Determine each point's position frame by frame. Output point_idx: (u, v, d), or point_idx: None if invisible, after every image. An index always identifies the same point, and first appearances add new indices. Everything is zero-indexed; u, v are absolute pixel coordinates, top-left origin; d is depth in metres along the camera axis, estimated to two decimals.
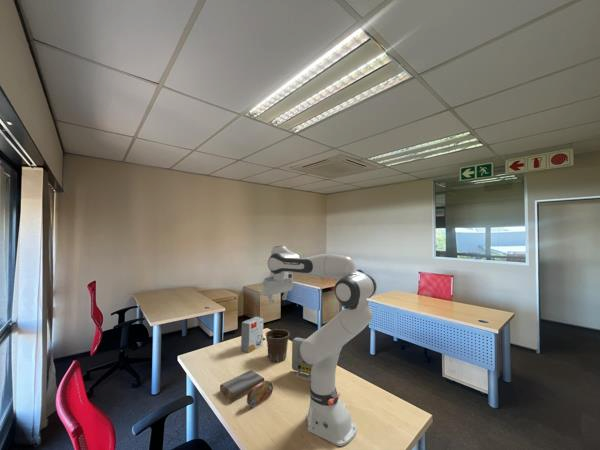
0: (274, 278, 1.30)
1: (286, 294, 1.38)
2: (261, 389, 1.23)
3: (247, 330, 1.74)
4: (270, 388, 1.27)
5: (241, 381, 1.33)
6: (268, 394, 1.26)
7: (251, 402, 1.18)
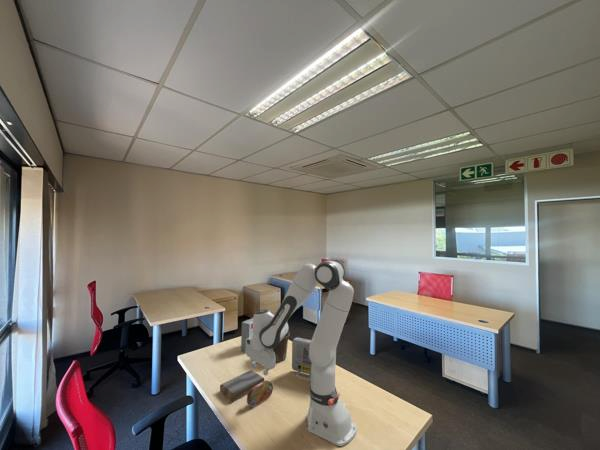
0: None
1: (254, 360, 1.28)
2: (261, 389, 1.23)
3: (247, 330, 1.74)
4: (270, 388, 1.27)
5: (241, 381, 1.33)
6: (268, 394, 1.26)
7: (251, 402, 1.18)
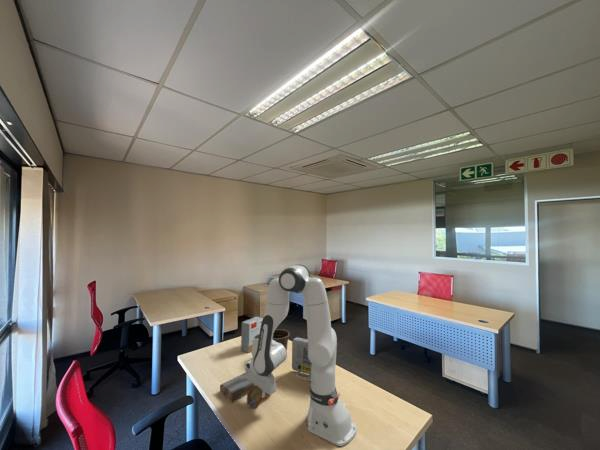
0: None
1: None
2: (261, 389, 1.23)
3: (247, 330, 1.74)
4: None
5: (241, 381, 1.33)
6: (268, 394, 1.26)
7: (251, 402, 1.18)
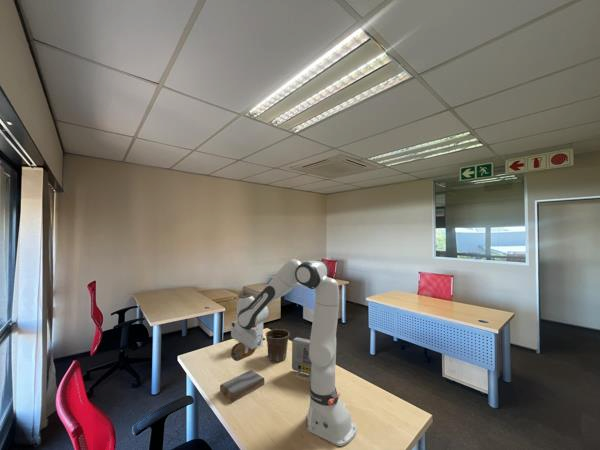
0: (251, 328, 1.32)
1: None
2: (244, 346, 1.33)
3: None
4: None
5: (241, 381, 1.33)
6: (251, 351, 1.36)
7: (234, 356, 1.29)
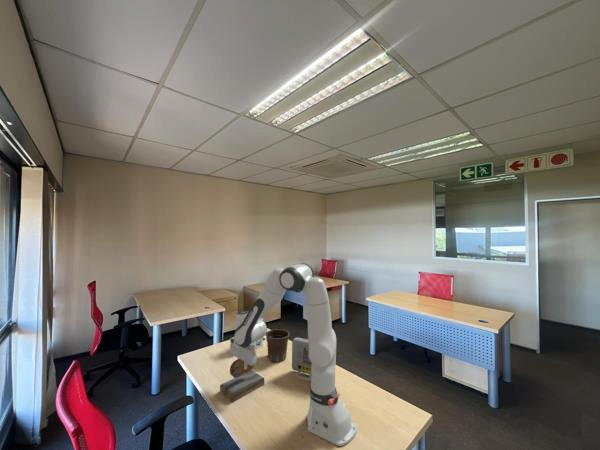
0: (250, 344, 1.32)
1: None
2: None
3: None
4: None
5: (241, 381, 1.33)
6: (250, 367, 1.37)
7: (233, 373, 1.29)
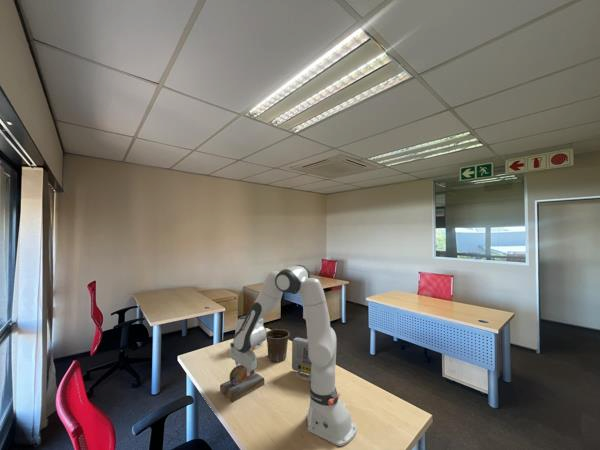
0: (250, 349, 1.32)
1: (239, 362, 1.38)
2: (243, 369, 1.34)
3: None
4: None
5: None
6: (250, 374, 1.37)
7: (233, 380, 1.29)
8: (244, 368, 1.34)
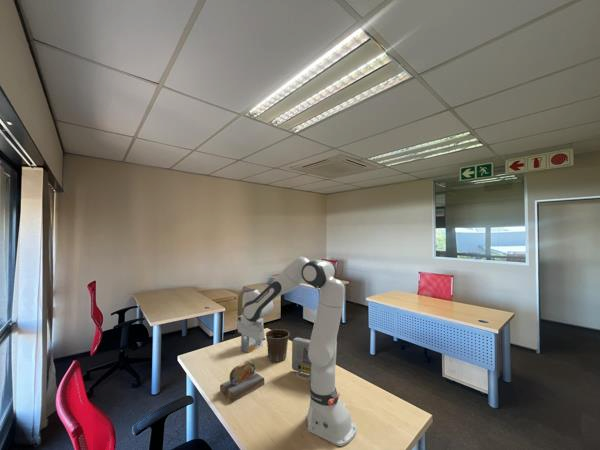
0: None
1: (246, 335, 1.40)
2: (243, 369, 1.34)
3: None
4: (252, 369, 1.38)
5: None
6: (250, 374, 1.37)
7: (233, 380, 1.29)
8: (244, 368, 1.34)
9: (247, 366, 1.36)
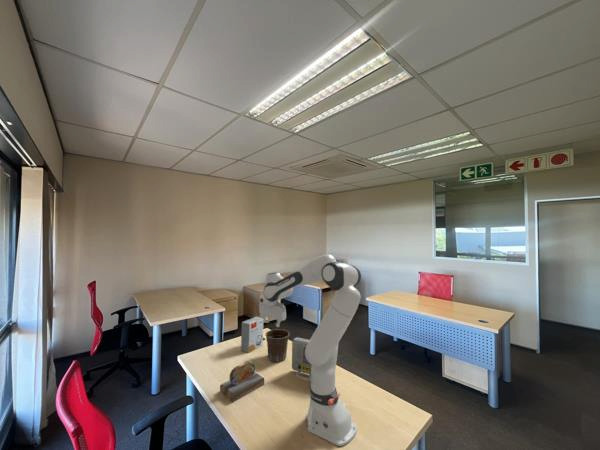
0: (279, 302, 1.41)
1: None
2: (243, 369, 1.34)
3: (247, 330, 1.74)
4: (252, 369, 1.38)
5: None
6: (250, 374, 1.37)
7: (233, 380, 1.29)
8: (244, 368, 1.34)
9: (247, 366, 1.36)
